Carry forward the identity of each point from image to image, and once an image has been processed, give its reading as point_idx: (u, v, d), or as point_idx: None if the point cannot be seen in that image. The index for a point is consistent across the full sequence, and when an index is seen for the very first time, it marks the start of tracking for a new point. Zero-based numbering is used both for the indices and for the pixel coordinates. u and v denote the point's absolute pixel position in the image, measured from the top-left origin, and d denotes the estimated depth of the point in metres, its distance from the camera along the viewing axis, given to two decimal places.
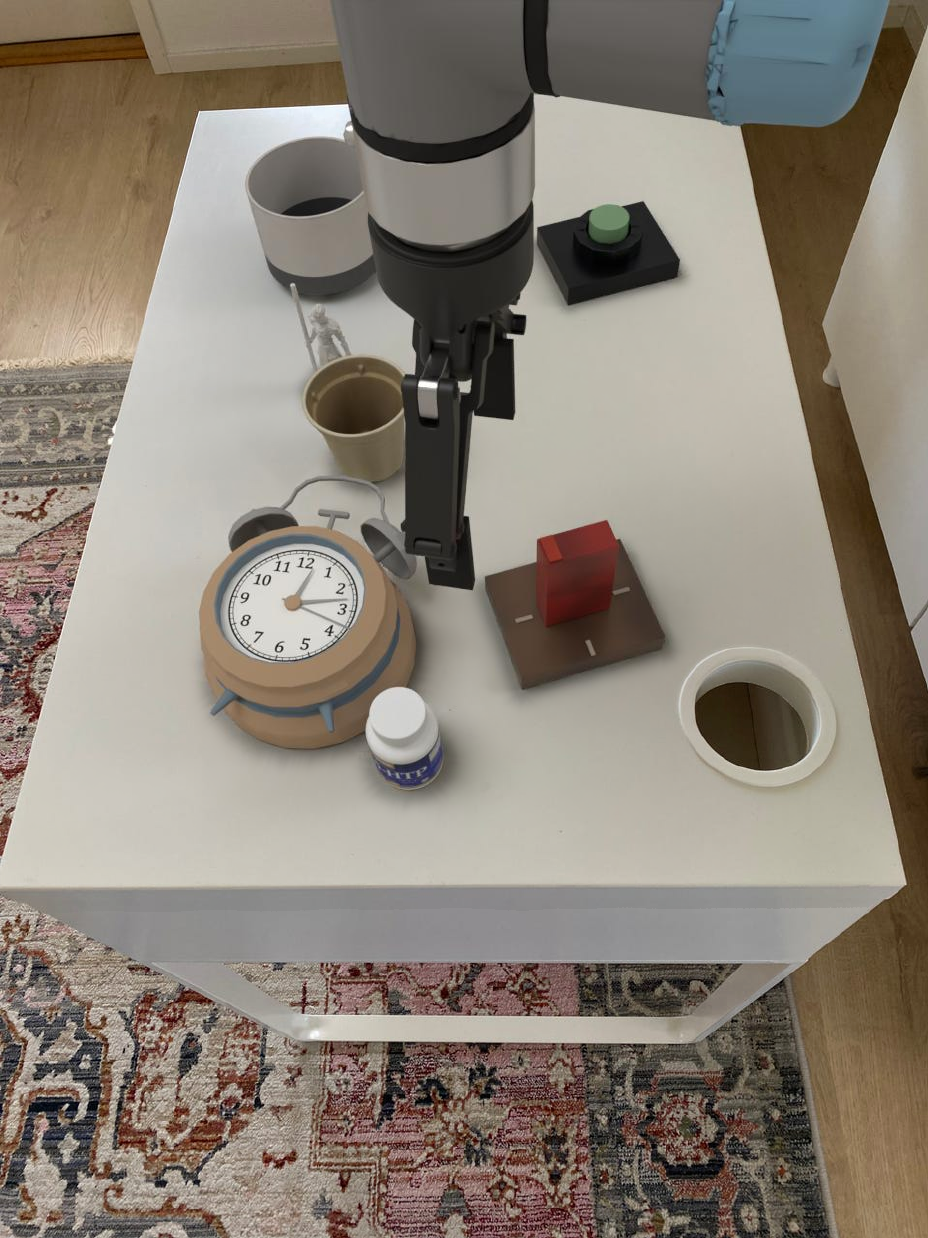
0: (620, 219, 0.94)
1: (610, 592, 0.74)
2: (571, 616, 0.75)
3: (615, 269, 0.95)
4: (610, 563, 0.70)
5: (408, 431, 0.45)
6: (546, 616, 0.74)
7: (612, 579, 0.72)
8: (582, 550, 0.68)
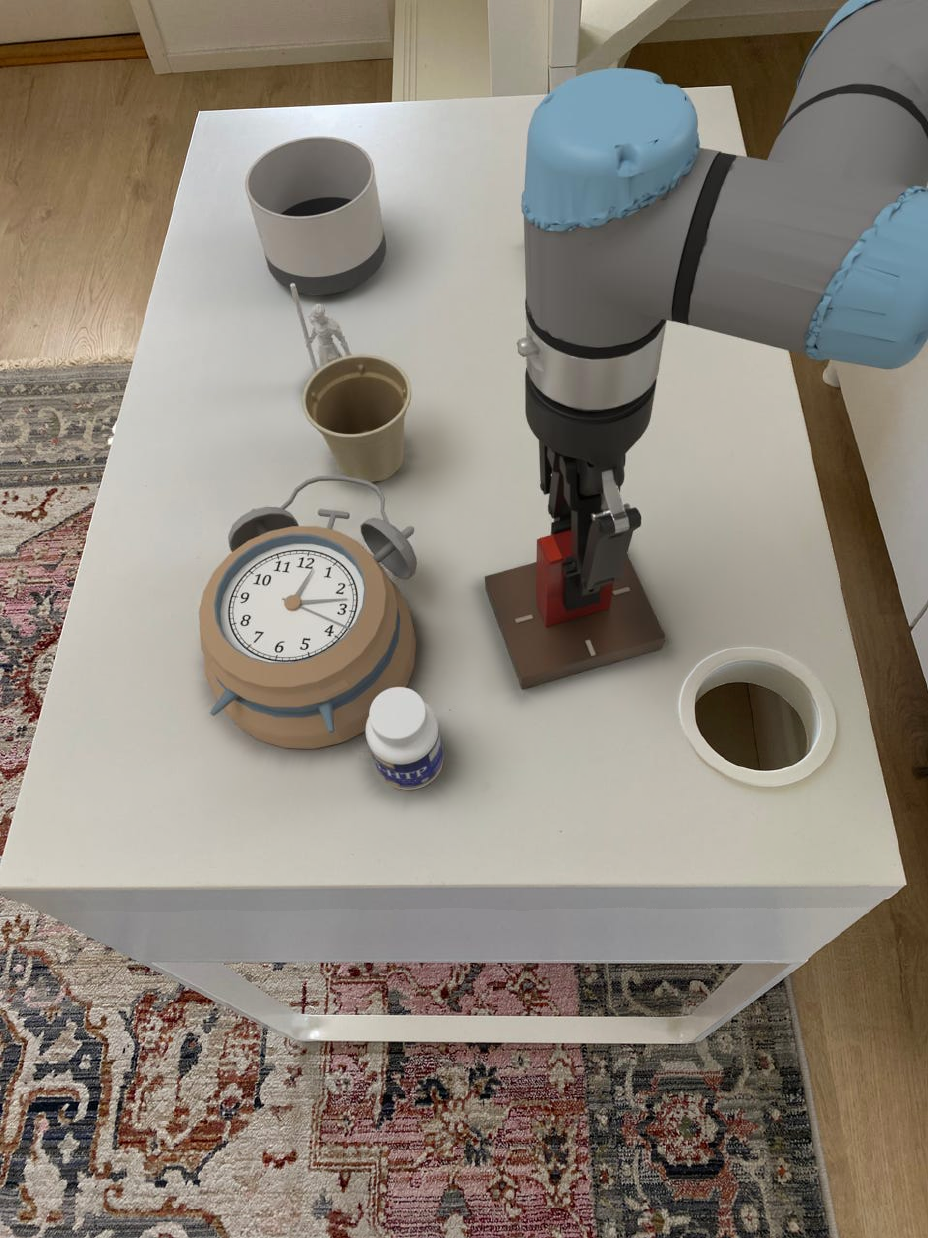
0: None
1: (610, 592, 0.74)
2: (571, 616, 0.75)
3: None
4: None
5: (598, 543, 0.59)
6: (546, 616, 0.74)
7: None
8: None
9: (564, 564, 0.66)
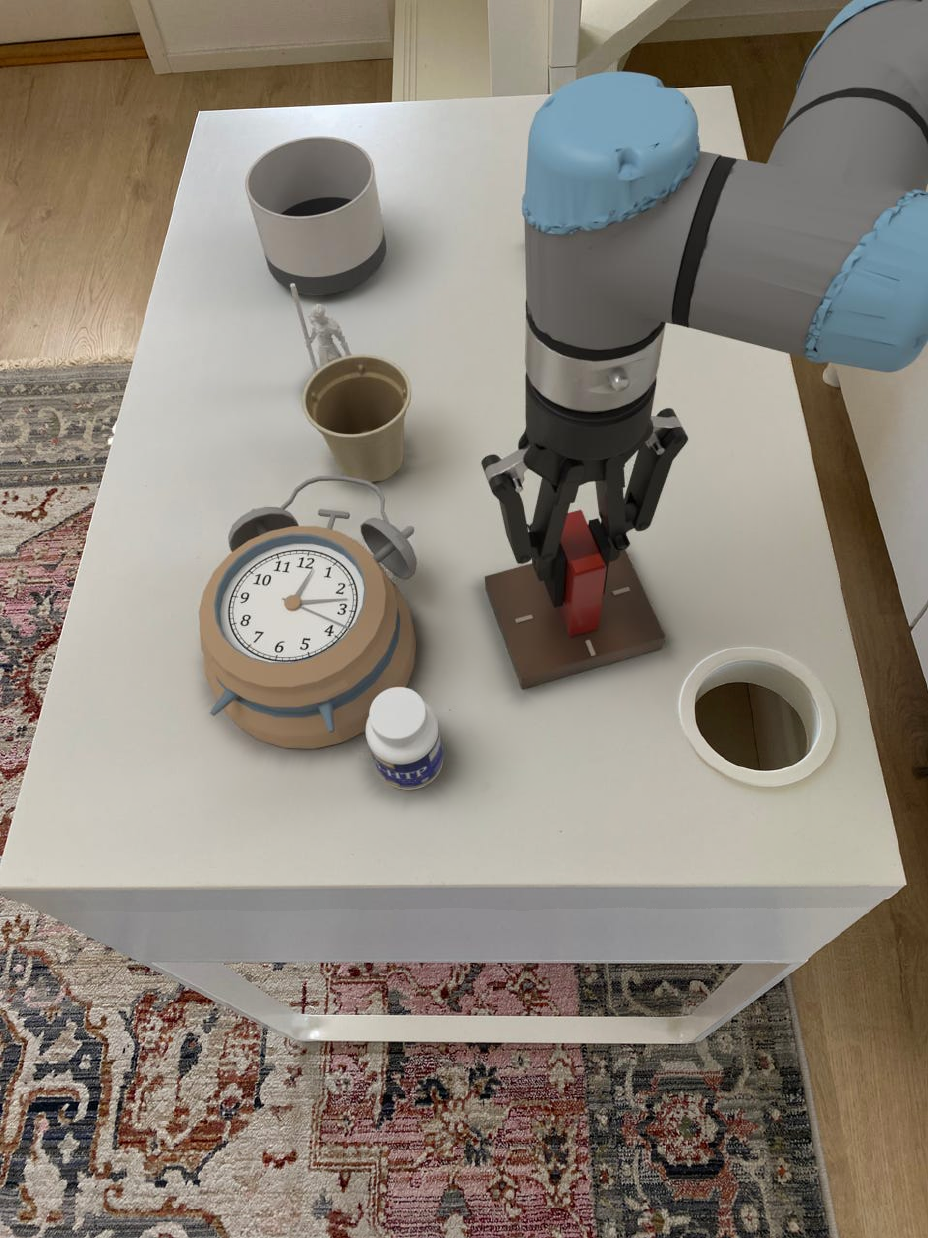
0: None
1: None
2: None
3: None
4: None
5: None
6: (599, 618, 0.74)
7: None
8: (588, 538, 0.69)
9: (615, 546, 0.67)
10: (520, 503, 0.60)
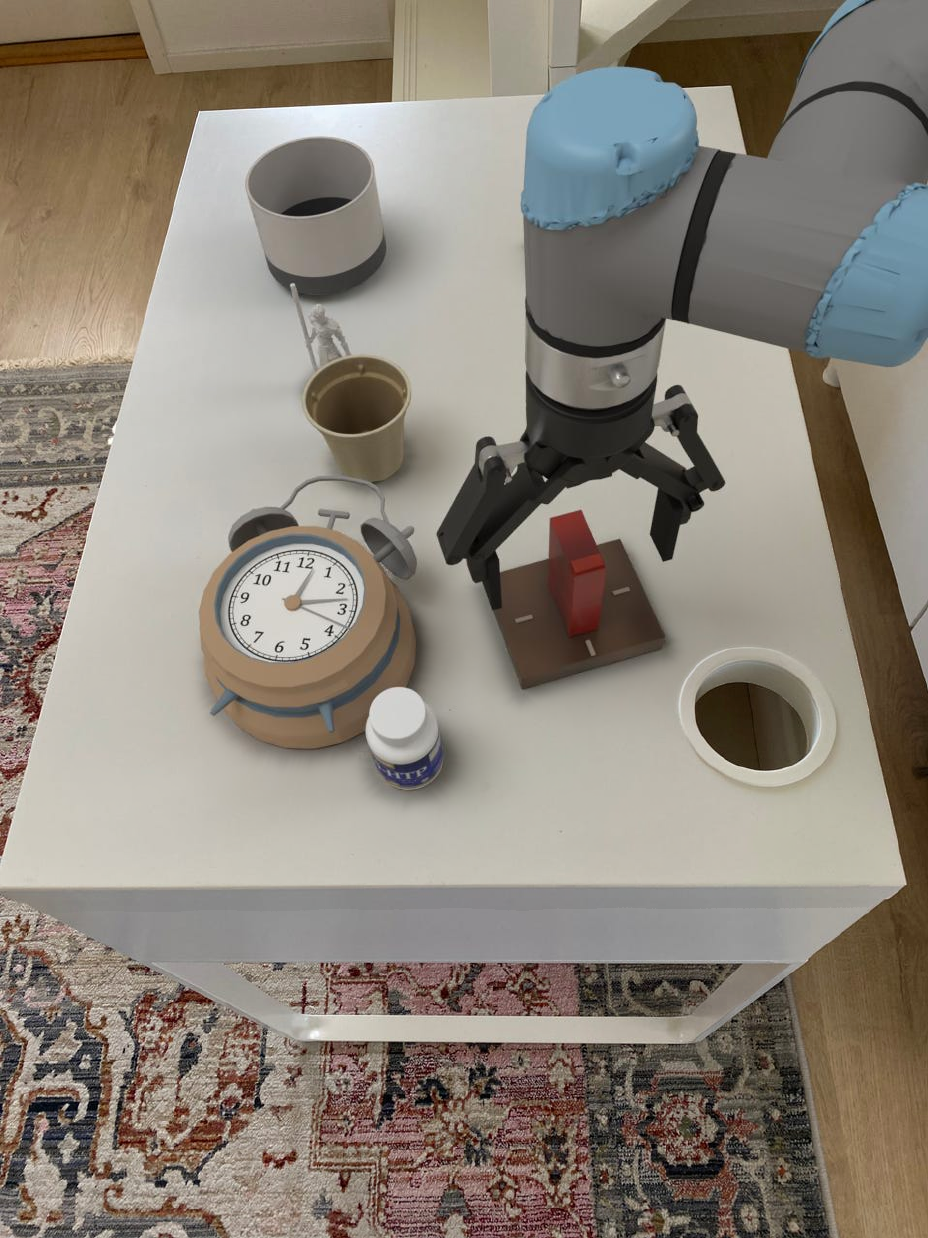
0: None
1: None
2: None
3: None
4: None
5: (697, 434, 0.60)
6: (599, 618, 0.74)
7: None
8: (588, 538, 0.69)
9: (690, 508, 0.66)
10: (498, 495, 0.59)
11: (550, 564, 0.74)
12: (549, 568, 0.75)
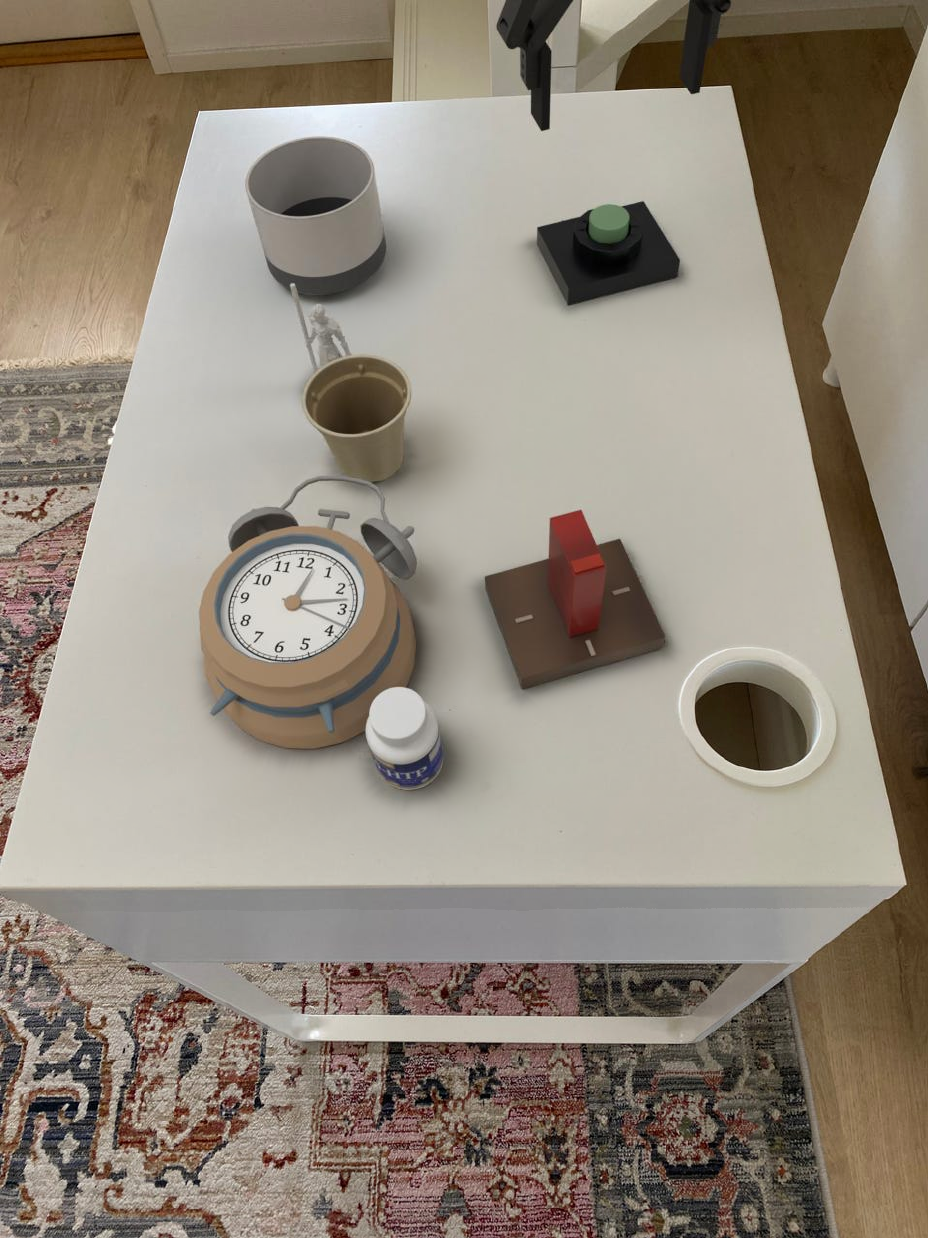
0: (620, 219, 0.94)
1: None
2: None
3: (615, 269, 0.95)
4: None
5: None
6: (599, 618, 0.74)
7: None
8: (588, 538, 0.69)
9: (718, 9, 0.74)
10: None
11: (550, 564, 0.74)
12: (549, 568, 0.75)
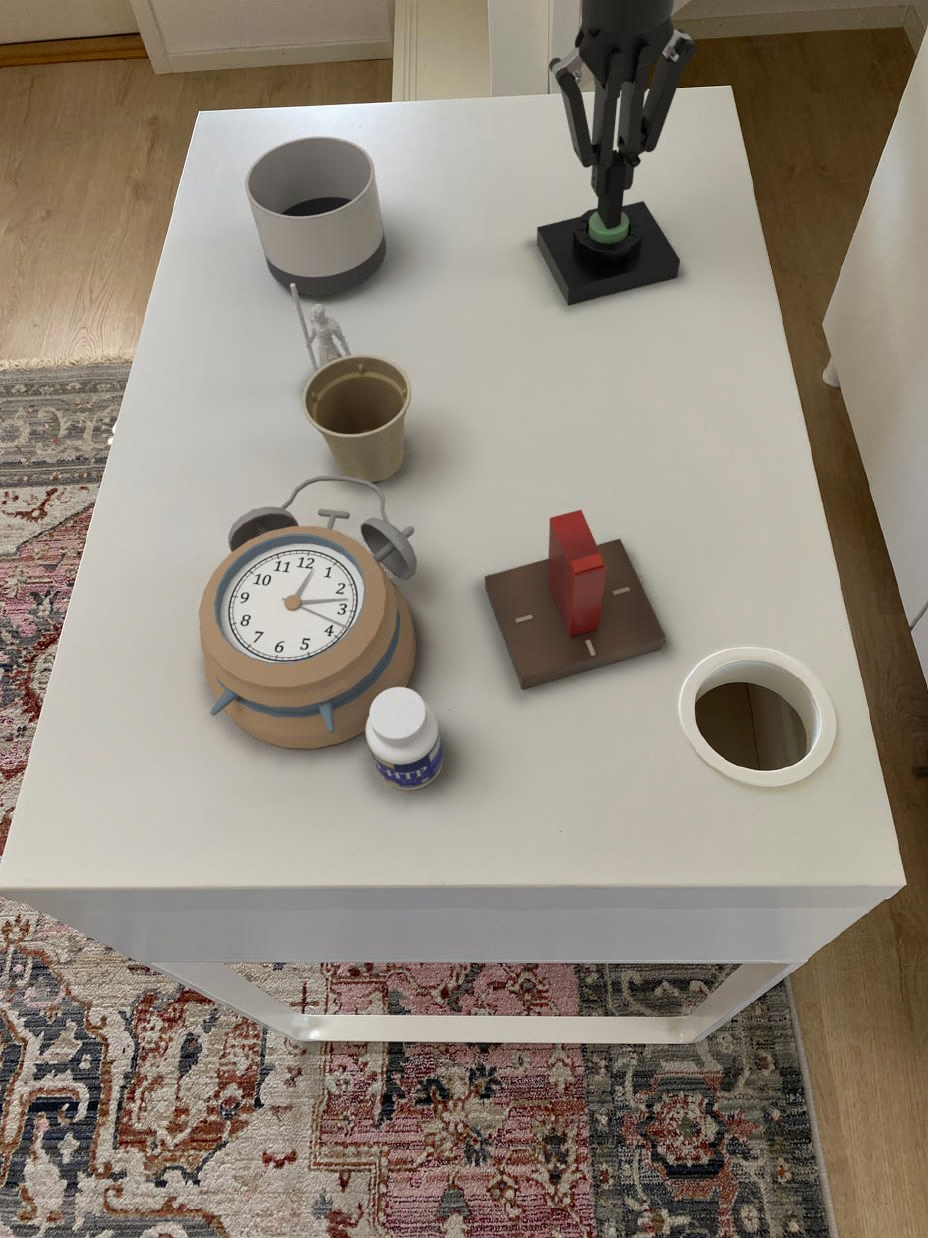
0: None
1: None
2: None
3: (615, 269, 0.95)
4: None
5: None
6: (599, 618, 0.74)
7: None
8: (588, 538, 0.69)
9: (629, 162, 0.88)
10: (580, 96, 0.82)
11: (550, 564, 0.74)
12: (549, 568, 0.75)
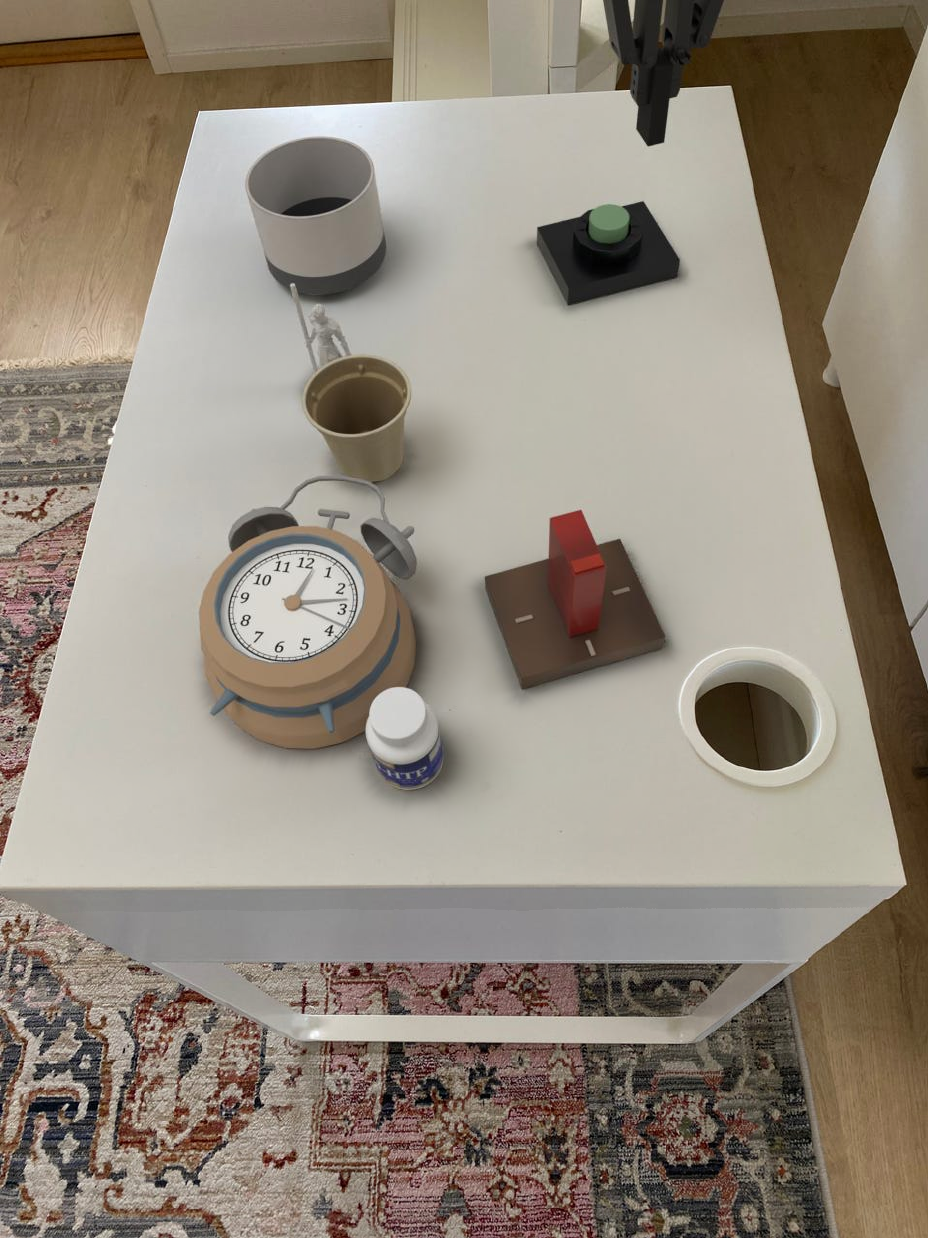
0: (620, 219, 0.94)
1: None
2: None
3: (615, 269, 0.95)
4: None
5: None
6: (599, 618, 0.74)
7: None
8: (588, 538, 0.69)
9: (678, 59, 0.74)
10: None
11: (550, 564, 0.74)
12: (549, 568, 0.75)
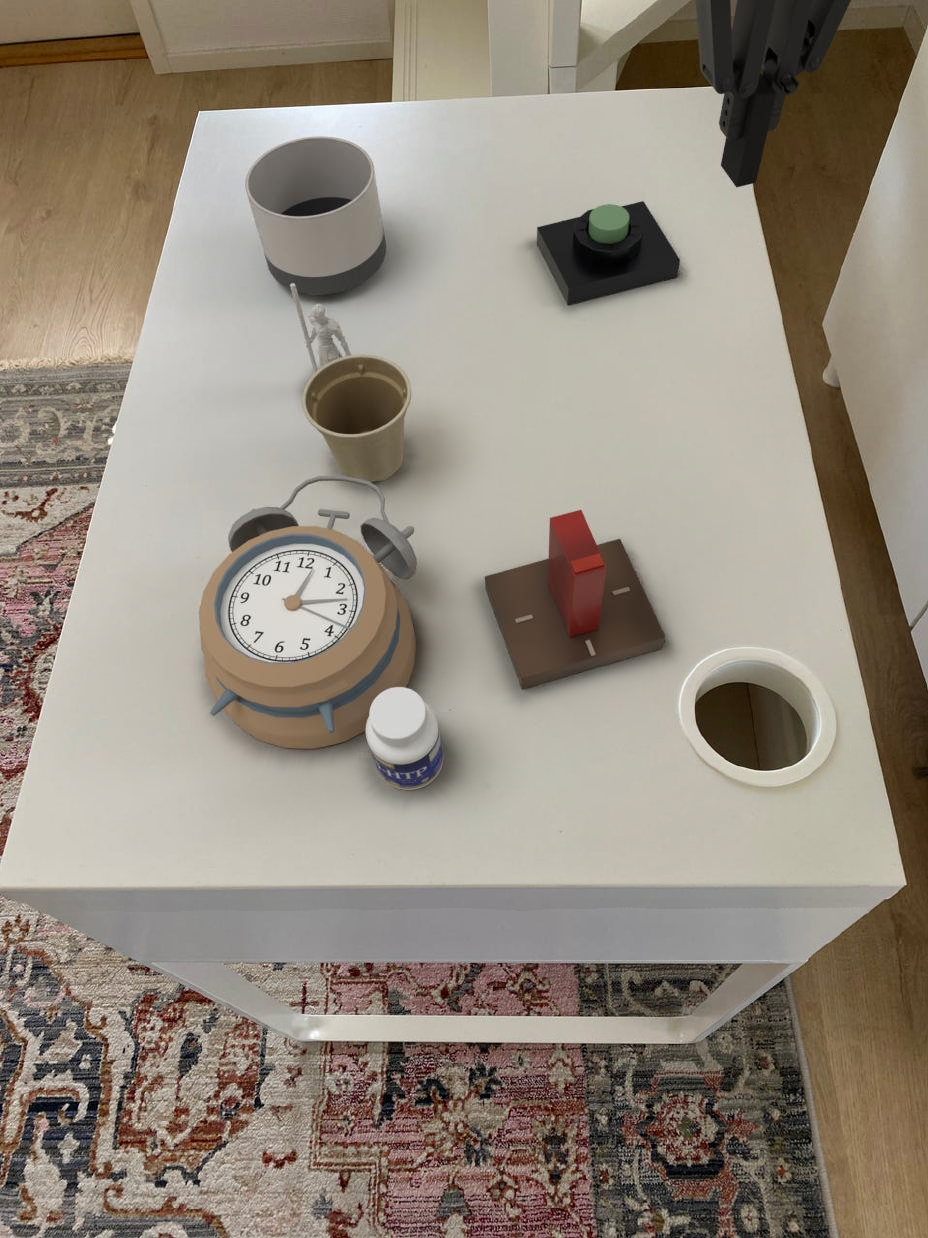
0: (620, 219, 0.94)
1: None
2: None
3: (615, 269, 0.95)
4: None
5: None
6: (599, 618, 0.74)
7: None
8: (588, 538, 0.69)
9: (783, 86, 0.60)
10: None
11: (550, 564, 0.74)
12: (549, 568, 0.75)
